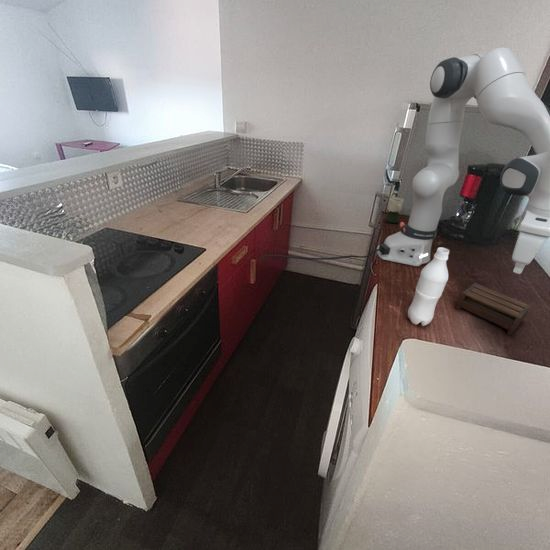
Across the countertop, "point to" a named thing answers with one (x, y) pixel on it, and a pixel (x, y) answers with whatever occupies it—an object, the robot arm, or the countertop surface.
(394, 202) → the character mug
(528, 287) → the countertop surface
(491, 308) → the rack
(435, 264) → the water bottle
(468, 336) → the countertop surface
